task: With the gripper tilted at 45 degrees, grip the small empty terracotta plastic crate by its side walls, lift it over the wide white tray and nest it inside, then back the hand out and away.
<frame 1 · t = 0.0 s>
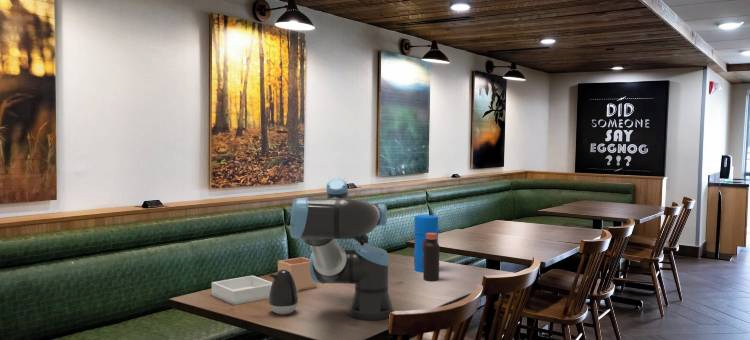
hand: (343, 253, 237), 15 cm above the table, tool tilted 35°, fingers open, 13 cm apart
thermos: (425, 270, 276), on the table
pump dispenser: (283, 312, 209), on the table
terracotta crate: (297, 287, 243), on the table
bottle: (431, 279, 258), on the table
white tray: (243, 295, 230), on the table
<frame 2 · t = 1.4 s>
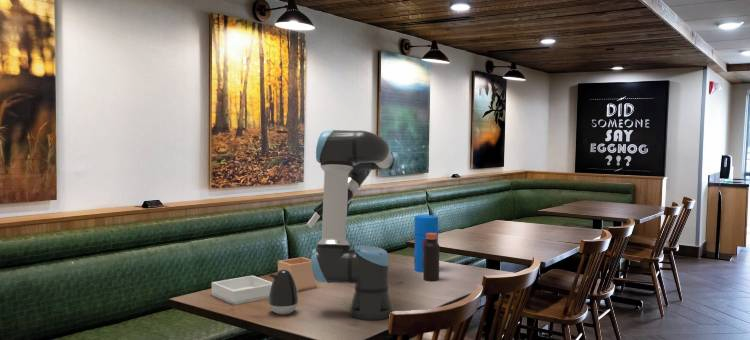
hand: (318, 228, 249), 23 cm above the table, tool tilted 45°, fingers open, 13 cm apart
nothing on the table moved.
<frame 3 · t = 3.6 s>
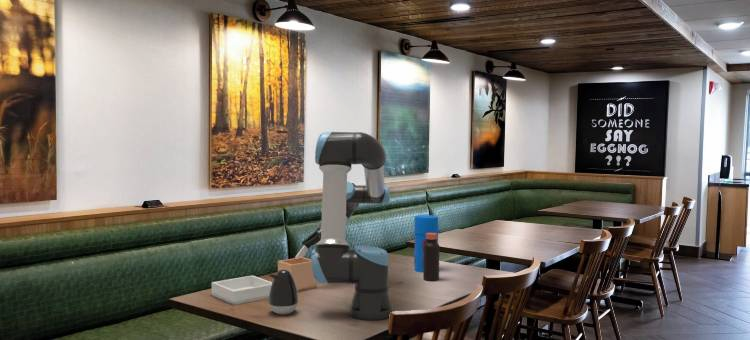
hand: (306, 262, 246), 10 cm above the table, tool tilted 45°, fingers open, 13 cm apart
nothing on the table moved.
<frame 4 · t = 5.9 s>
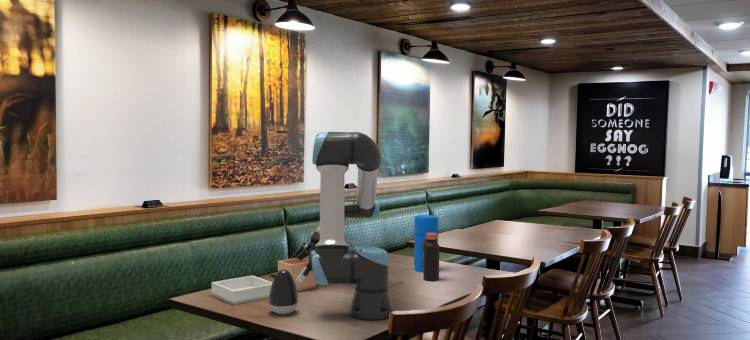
hand: (290, 279, 241), 4 cm above the table, tool tilted 45°, fingers closed on terracotta crate, 10 cm apart
terracotta crate: (297, 287, 243), on the table, touching gripper
everything else where it was.
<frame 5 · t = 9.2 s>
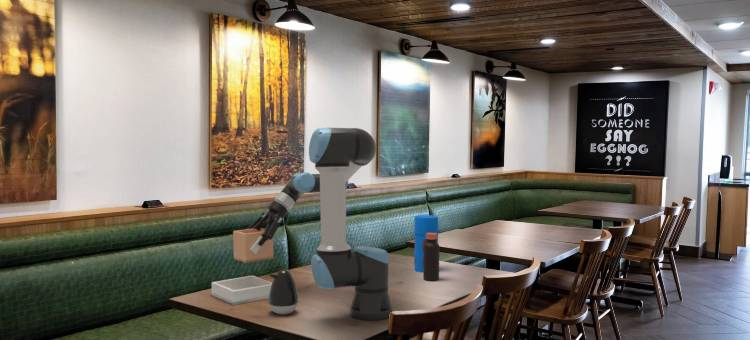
hand: (246, 249, 231), 18 cm above the table, tool tilted 45°, fingers closed on terracotta crate, 10 cm apart
terracotta crate: (253, 258, 233), point 14 cm above the table, touching gripper
everything else where it was.
when the fingers open (6 cm above the table, at t = 12.9 s): terracotta crate drops 1 cm, resting on white tray.
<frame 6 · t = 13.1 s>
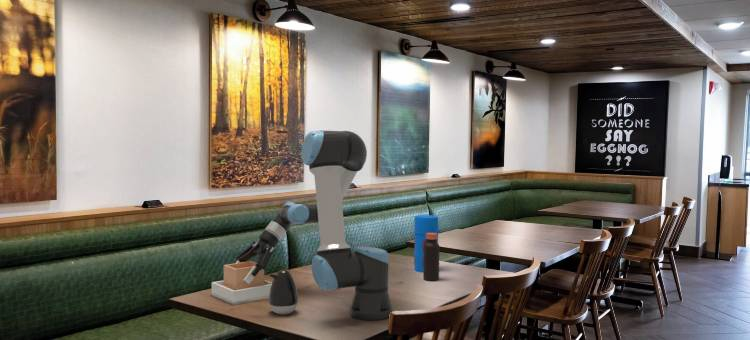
hand: (237, 279, 228), 7 cm above the table, tool tilted 45°, fingers open, 12 cm apart
terracotta crate: (244, 293, 230), point 1 cm above the table, touching white tray
everything else where it was.
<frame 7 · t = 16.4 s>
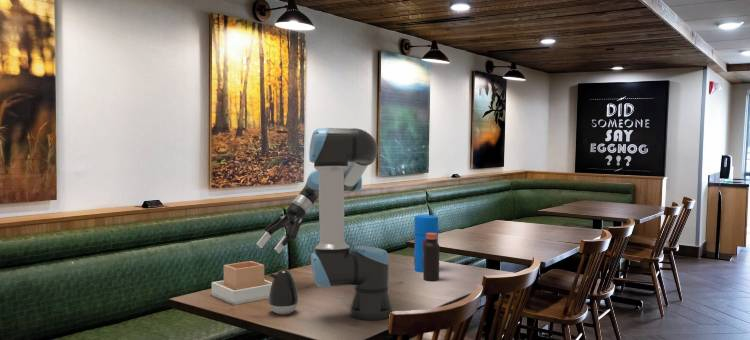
hand: (267, 248, 236), 17 cm above the table, tool tilted 45°, fingers open, 13 cm apart
nothing on the table moved.
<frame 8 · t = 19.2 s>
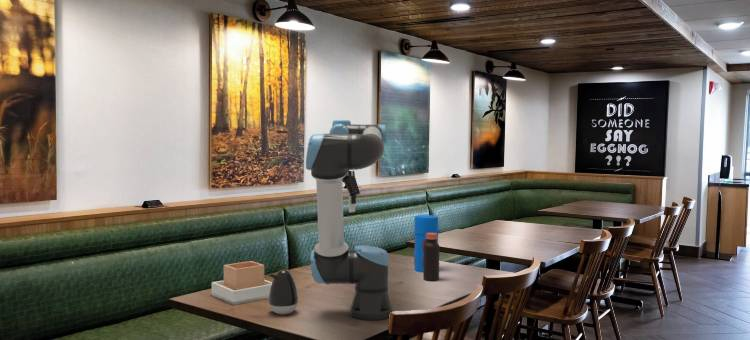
hand: (341, 210, 242), 32 cm above the table, tool pointing down, fingers open, 13 cm apart
nothing on the table moved.
at the end: terracotta crate inside the target area on the white tray (0.1 cm from its centre), point 1.0 cm above the white tray's base; terracotta crate tilted 0°; the gripper is holding nothing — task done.
